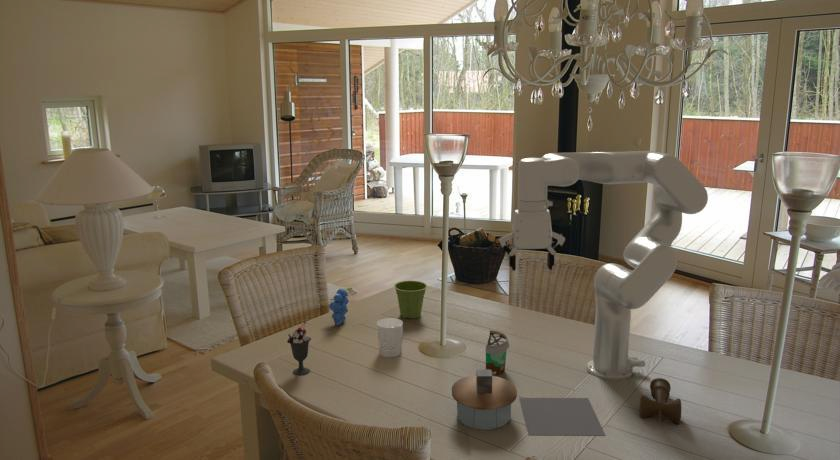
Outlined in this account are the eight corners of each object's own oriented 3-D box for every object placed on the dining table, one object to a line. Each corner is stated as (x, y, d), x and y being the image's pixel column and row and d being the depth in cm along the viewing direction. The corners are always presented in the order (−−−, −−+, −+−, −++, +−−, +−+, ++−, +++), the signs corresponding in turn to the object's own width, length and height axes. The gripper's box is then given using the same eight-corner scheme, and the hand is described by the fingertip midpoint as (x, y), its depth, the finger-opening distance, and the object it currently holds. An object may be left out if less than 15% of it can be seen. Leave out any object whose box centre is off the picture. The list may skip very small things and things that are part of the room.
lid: (512, 378, 165) (513, 358, 164) (520, 409, 150) (521, 388, 148) (450, 378, 166) (450, 358, 164) (452, 409, 150) (452, 388, 149)
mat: (587, 399, 167) (588, 397, 167) (605, 437, 150) (605, 435, 150) (519, 399, 168) (519, 397, 168) (528, 437, 150) (528, 435, 150)
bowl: (506, 404, 165) (507, 381, 164) (512, 431, 153) (513, 406, 151) (456, 403, 166) (456, 381, 164) (458, 430, 153) (458, 406, 152)
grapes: (335, 315, 228) (333, 283, 226) (353, 317, 227) (351, 285, 224) (323, 327, 217) (321, 294, 215) (342, 329, 216) (340, 295, 213)
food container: (507, 381, 178) (507, 347, 176) (485, 379, 179) (485, 346, 177) (510, 362, 190) (510, 330, 187) (489, 360, 191) (489, 329, 188)
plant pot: (415, 324, 220) (415, 293, 217) (387, 317, 226) (387, 287, 224) (433, 313, 230) (433, 283, 227) (406, 307, 236) (406, 278, 233)
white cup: (373, 356, 195) (372, 325, 192) (384, 346, 202) (383, 316, 200) (397, 360, 192) (396, 329, 190) (407, 350, 199) (406, 319, 197)
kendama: (679, 398, 168) (681, 435, 150) (640, 394, 172) (638, 429, 153) (680, 377, 167) (682, 412, 149) (641, 373, 171) (639, 406, 152)
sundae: (317, 369, 187) (314, 320, 183) (304, 378, 181) (301, 329, 177) (298, 365, 189) (295, 317, 186) (285, 374, 183) (281, 325, 180)
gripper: (562, 202, 169) (561, 263, 173) (497, 203, 170) (497, 265, 174) (568, 207, 162) (567, 272, 166) (500, 209, 162) (500, 273, 167)
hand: (531, 268), depth 170 cm, fingers open, 9 cm apart
